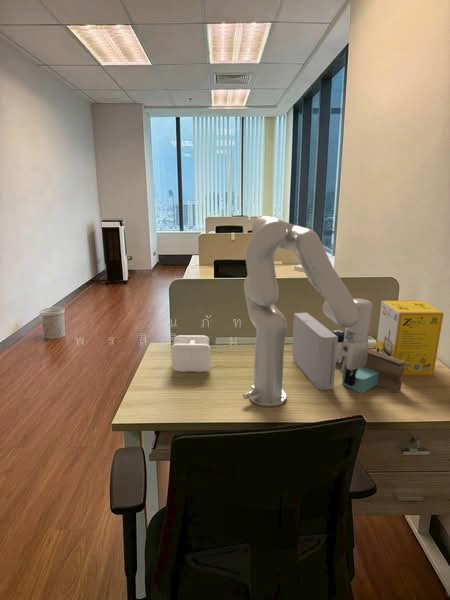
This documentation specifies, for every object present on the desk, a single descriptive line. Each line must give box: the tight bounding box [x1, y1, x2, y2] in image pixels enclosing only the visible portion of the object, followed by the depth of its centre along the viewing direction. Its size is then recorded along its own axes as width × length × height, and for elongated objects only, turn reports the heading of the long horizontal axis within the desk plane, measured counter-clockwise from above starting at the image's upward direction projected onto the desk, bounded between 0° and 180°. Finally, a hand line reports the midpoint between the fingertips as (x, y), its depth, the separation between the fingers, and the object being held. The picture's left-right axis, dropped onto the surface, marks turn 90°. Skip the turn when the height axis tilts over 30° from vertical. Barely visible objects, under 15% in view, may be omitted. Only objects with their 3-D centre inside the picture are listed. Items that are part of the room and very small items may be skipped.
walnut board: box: [364, 348, 405, 394], centre depth 142 cm, size 3×22×11 cm, turn 37°
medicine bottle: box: [331, 330, 345, 364], centre depth 160 cm, size 7×7×12 cm
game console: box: [291, 312, 338, 391], centre depth 147 cm, size 6×27×20 cm, turn 11°
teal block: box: [341, 366, 379, 394], centre depth 140 cm, size 10×8×5 cm
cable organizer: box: [170, 334, 212, 373], centre depth 152 cm, size 15×11×12 cm
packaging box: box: [375, 300, 444, 376], centre depth 152 cm, size 16×16×25 cm
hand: (349, 384), depth 136 cm, fingers closed
